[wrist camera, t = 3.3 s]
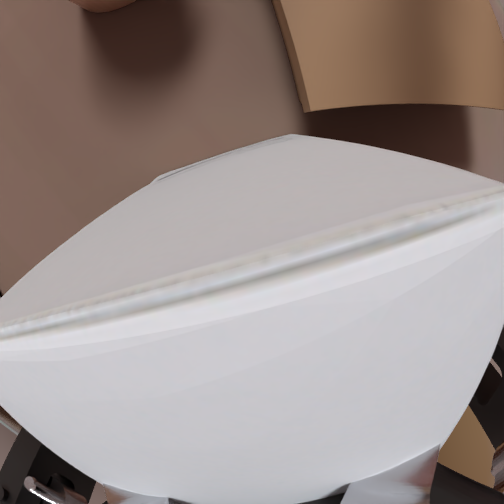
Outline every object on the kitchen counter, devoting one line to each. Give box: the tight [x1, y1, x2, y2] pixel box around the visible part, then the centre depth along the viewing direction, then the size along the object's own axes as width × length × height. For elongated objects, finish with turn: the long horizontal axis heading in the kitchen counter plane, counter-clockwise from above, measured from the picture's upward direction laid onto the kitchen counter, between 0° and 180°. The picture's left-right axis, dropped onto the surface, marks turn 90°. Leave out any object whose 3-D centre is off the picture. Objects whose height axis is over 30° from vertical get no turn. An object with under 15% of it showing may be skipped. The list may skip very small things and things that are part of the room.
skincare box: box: [0, 134, 504, 504], centre depth 8 cm, size 10×6×10 cm, turn 17°
